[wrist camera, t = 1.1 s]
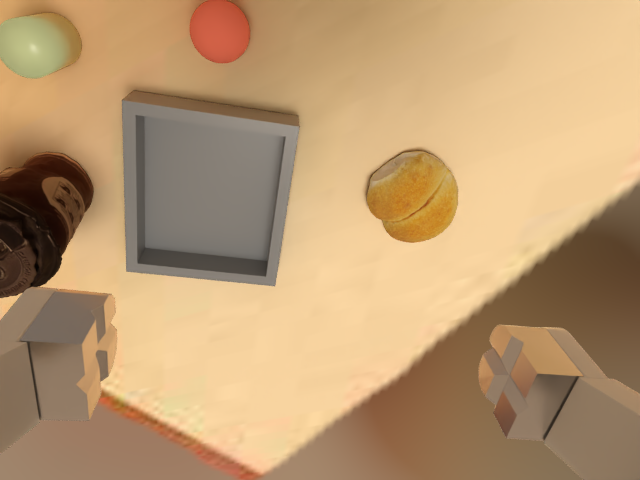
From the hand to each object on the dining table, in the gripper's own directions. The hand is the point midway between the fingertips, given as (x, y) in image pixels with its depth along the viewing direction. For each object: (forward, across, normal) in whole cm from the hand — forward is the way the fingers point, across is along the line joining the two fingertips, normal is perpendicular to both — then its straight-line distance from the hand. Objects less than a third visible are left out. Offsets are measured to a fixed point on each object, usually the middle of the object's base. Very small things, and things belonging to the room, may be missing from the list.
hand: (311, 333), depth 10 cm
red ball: (+32, +5, -2) cm, 33 cm away
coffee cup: (+35, +19, +13) cm, 42 cm away
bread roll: (+35, -13, +10) cm, 39 cm away
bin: (+35, +6, +11) cm, 37 cm away
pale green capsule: (+34, +18, 0) cm, 39 cm away
